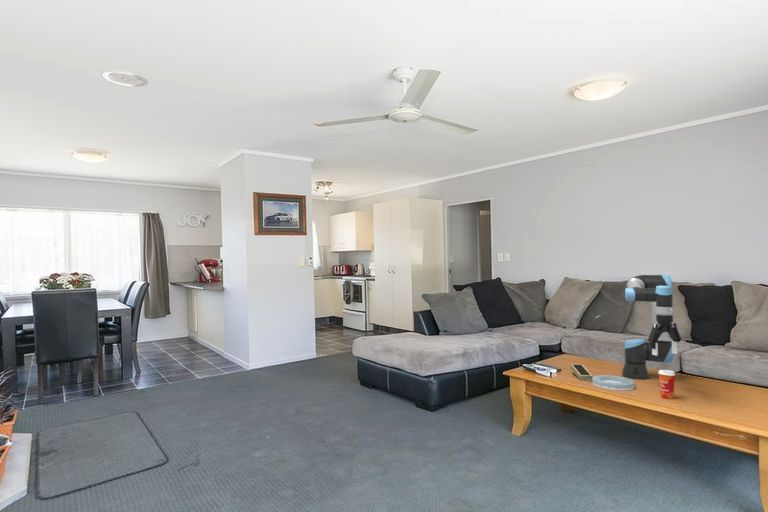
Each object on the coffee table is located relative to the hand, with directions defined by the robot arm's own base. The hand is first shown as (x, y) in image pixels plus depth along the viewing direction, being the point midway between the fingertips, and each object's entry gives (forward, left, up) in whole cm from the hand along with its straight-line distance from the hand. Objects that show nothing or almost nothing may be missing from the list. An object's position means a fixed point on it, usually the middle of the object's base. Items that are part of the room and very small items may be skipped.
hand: (664, 354), depth 233 cm
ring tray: (+7, -28, -23) cm, 37 cm away
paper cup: (-1, 0, -23) cm, 23 cm away
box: (+12, -48, -23) cm, 54 cm away
